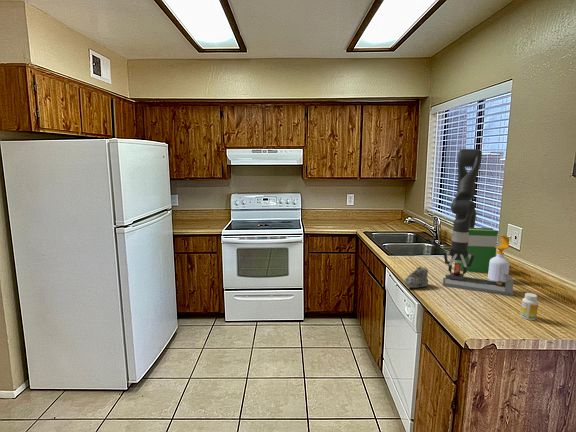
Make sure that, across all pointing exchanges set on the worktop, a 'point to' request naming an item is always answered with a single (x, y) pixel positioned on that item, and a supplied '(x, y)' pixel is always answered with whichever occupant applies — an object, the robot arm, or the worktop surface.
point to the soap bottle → (499, 262)
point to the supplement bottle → (529, 306)
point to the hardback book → (481, 249)
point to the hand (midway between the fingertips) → (456, 272)
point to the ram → (457, 273)
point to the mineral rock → (417, 278)
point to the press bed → (482, 284)
